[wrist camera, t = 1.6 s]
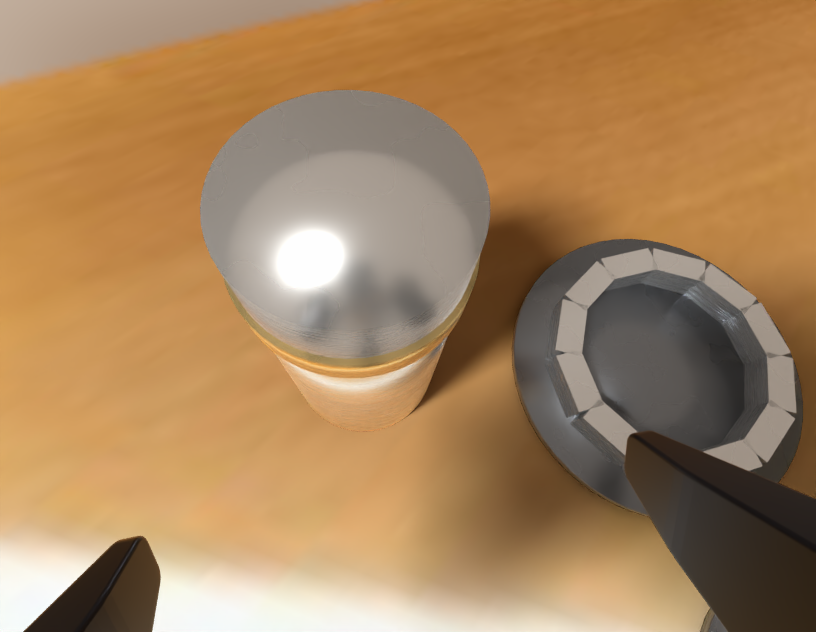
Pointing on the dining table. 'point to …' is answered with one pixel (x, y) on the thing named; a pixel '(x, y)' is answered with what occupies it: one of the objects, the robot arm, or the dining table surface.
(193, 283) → the dining table surface
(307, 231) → the cylinder
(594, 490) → the collar
